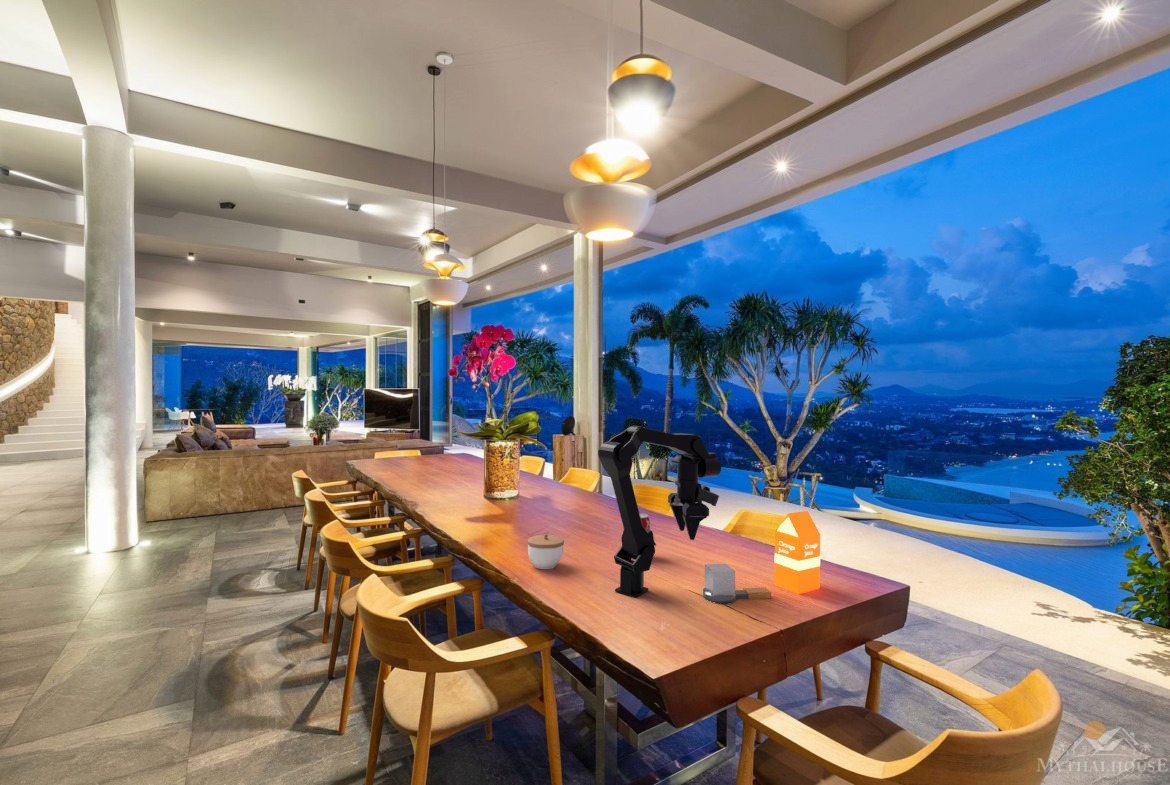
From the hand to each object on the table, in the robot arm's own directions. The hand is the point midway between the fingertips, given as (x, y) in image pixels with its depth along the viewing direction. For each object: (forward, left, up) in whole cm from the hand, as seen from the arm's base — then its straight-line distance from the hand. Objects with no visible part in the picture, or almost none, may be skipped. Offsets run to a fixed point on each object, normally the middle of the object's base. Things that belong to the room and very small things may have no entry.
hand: (686, 535), depth 139 cm
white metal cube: (-7, -12, -10) cm, 18 cm away
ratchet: (-4, -16, -12) cm, 20 cm away
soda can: (+8, +21, -12) cm, 25 cm away
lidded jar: (-18, +37, -12) cm, 42 cm away
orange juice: (+14, -25, -12) cm, 32 cm away
